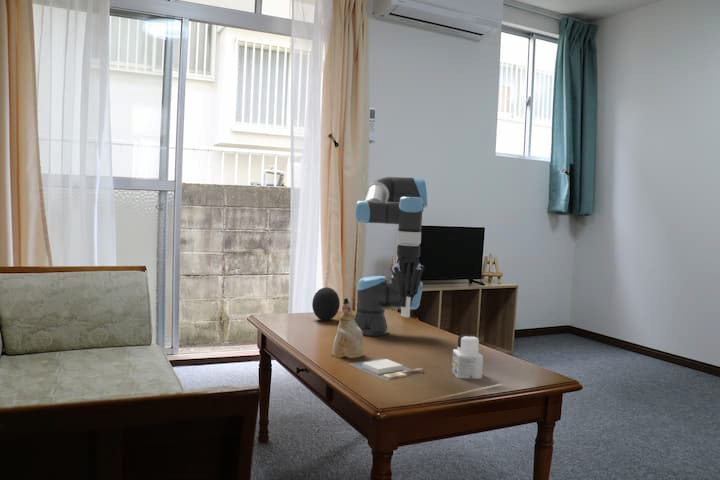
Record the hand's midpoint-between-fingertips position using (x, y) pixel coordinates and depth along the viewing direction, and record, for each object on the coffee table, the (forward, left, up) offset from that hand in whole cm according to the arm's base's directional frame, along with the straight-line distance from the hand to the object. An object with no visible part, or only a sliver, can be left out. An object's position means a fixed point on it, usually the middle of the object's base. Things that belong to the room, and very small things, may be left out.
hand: (405, 316), depth 184 cm
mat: (+8, 0, -17) cm, 19 cm away
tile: (+4, 0, -15) cm, 16 cm away
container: (-12, +17, -17) cm, 27 cm away
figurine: (+8, -20, -17) cm, 27 cm away
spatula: (+7, +8, -16) cm, 20 cm away
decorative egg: (-18, -75, -17) cm, 79 cm away
